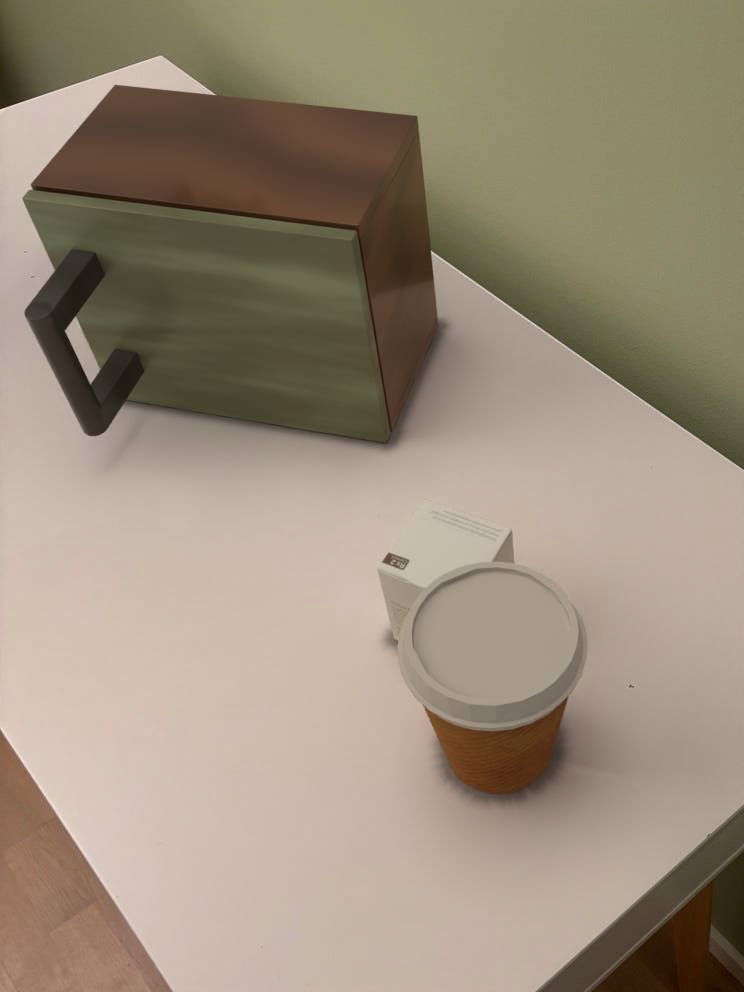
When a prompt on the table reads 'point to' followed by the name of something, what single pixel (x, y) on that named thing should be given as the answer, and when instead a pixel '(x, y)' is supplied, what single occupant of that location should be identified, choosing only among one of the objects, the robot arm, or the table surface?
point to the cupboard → (276, 188)
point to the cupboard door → (207, 315)
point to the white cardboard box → (437, 554)
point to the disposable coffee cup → (493, 669)
